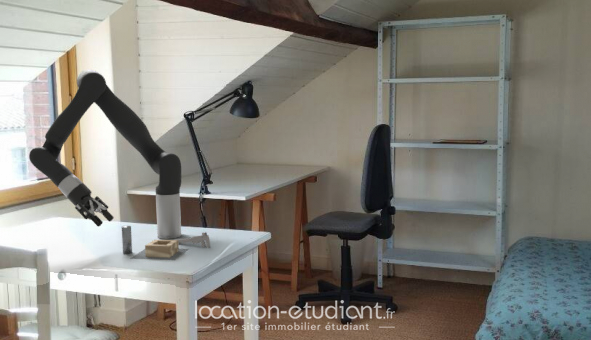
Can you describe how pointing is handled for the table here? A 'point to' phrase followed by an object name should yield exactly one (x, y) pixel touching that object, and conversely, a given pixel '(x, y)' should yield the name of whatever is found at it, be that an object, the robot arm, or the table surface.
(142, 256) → the mat
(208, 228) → the table surface
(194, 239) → the caliper
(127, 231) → the ball
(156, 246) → the wooden square frame
